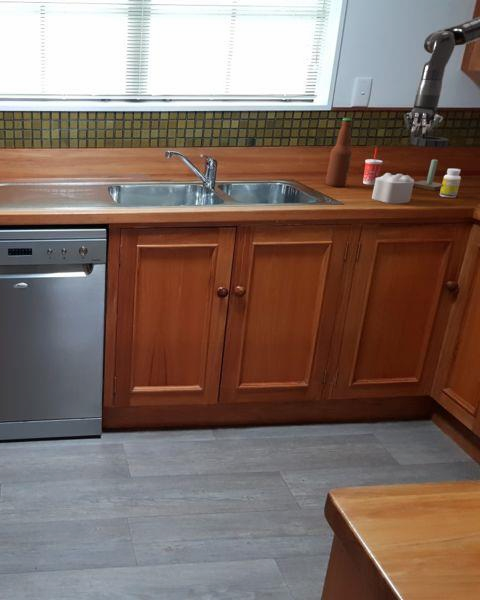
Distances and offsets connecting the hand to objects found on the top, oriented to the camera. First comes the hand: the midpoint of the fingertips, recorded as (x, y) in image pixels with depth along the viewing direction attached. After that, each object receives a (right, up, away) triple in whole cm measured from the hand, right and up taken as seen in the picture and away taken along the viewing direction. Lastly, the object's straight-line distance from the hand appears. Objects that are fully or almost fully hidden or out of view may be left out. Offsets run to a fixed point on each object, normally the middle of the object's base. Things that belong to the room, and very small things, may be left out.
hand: (417, 143), depth 220 cm
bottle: (-24, -13, +15) cm, 31 cm away
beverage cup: (-8, -11, +19) cm, 24 cm away
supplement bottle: (+11, -20, +1) cm, 23 cm away
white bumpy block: (-12, -22, -5) cm, 25 cm away
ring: (+3, -2, -3) cm, 4 cm away
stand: (+12, -13, +14) cm, 23 cm away
